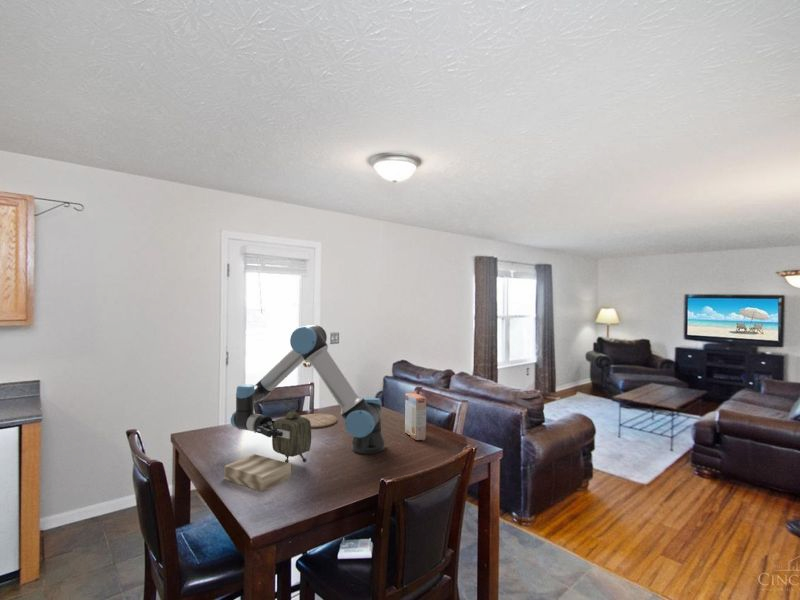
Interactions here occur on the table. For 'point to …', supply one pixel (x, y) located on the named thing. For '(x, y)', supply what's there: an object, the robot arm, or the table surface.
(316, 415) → the trivet
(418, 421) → the cracker box
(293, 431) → the tabletop clock
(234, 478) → the maple base
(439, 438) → the table surface
